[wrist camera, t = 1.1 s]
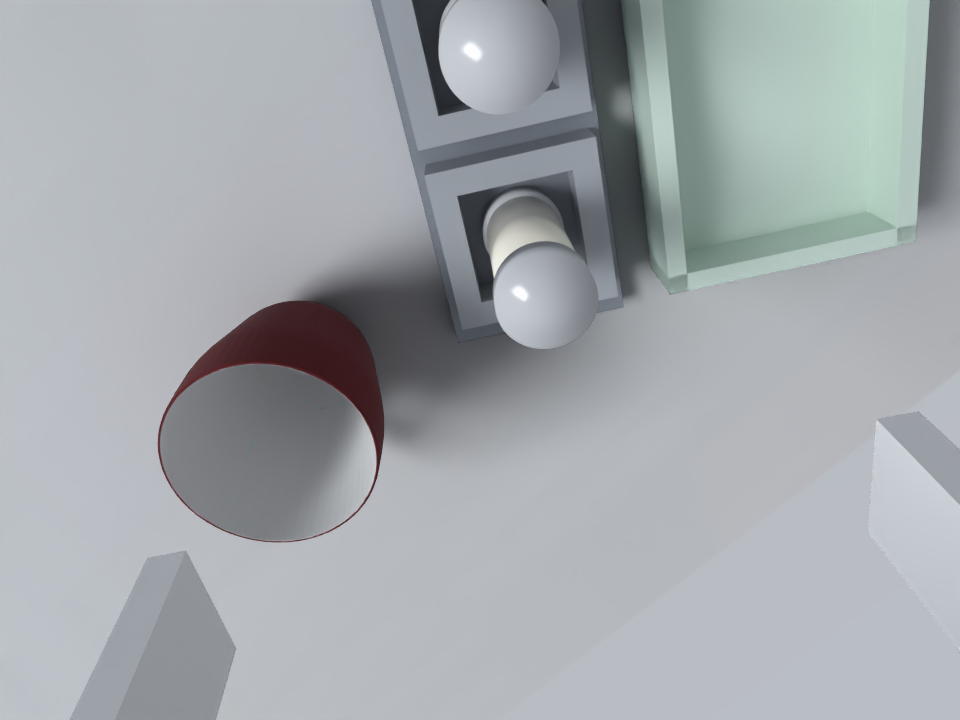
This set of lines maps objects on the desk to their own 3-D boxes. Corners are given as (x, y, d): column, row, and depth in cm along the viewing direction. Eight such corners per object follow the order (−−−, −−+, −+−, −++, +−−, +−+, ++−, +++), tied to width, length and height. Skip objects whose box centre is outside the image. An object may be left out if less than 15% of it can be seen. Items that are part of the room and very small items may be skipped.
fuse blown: (429, -5, 29) (425, -1, 21) (518, -27, 28) (548, -31, 20) (450, 89, 30) (453, 126, 22) (534, 69, 30) (568, 99, 22)
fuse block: (351, -85, 28) (342, -92, 26) (558, -136, 28) (571, -149, 25) (457, 333, 36) (459, 361, 34) (619, 299, 36) (633, 324, 33)
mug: (426, 433, 39) (421, 567, 30) (278, 465, 39) (231, 607, 30) (367, 245, 34) (341, 337, 25) (200, 284, 35) (117, 389, 26)
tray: (614, -52, 29) (634, -56, 26) (885, -117, 29) (937, -129, 26) (651, 268, 35) (670, 294, 32) (875, 219, 35) (915, 242, 32)
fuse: (474, 195, 32) (485, 265, 24) (553, 177, 32) (590, 242, 24) (490, 269, 34) (505, 358, 26) (565, 253, 34) (605, 337, 26)
